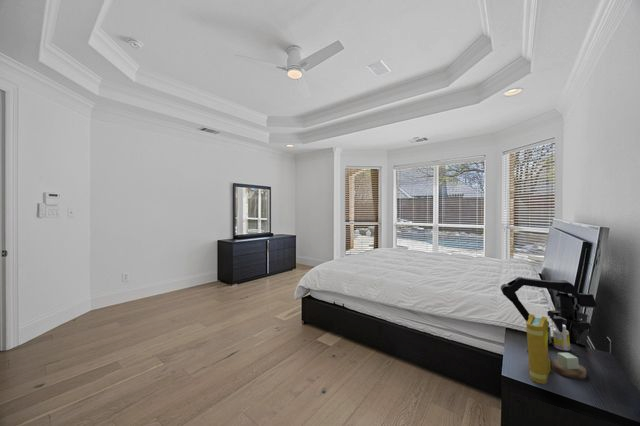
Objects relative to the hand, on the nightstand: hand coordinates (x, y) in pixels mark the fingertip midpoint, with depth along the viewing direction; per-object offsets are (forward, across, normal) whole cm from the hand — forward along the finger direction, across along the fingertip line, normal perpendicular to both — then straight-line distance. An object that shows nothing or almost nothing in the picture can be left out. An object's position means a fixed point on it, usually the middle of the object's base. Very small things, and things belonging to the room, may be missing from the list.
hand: (569, 336), depth 133 cm
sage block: (+10, -10, +10) cm, 17 cm away
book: (+12, -12, +25) cm, 30 cm away
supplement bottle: (+12, +12, -6) cm, 18 cm away
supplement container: (+12, +21, -1) cm, 24 cm away
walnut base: (+12, -10, +10) cm, 19 cm away
